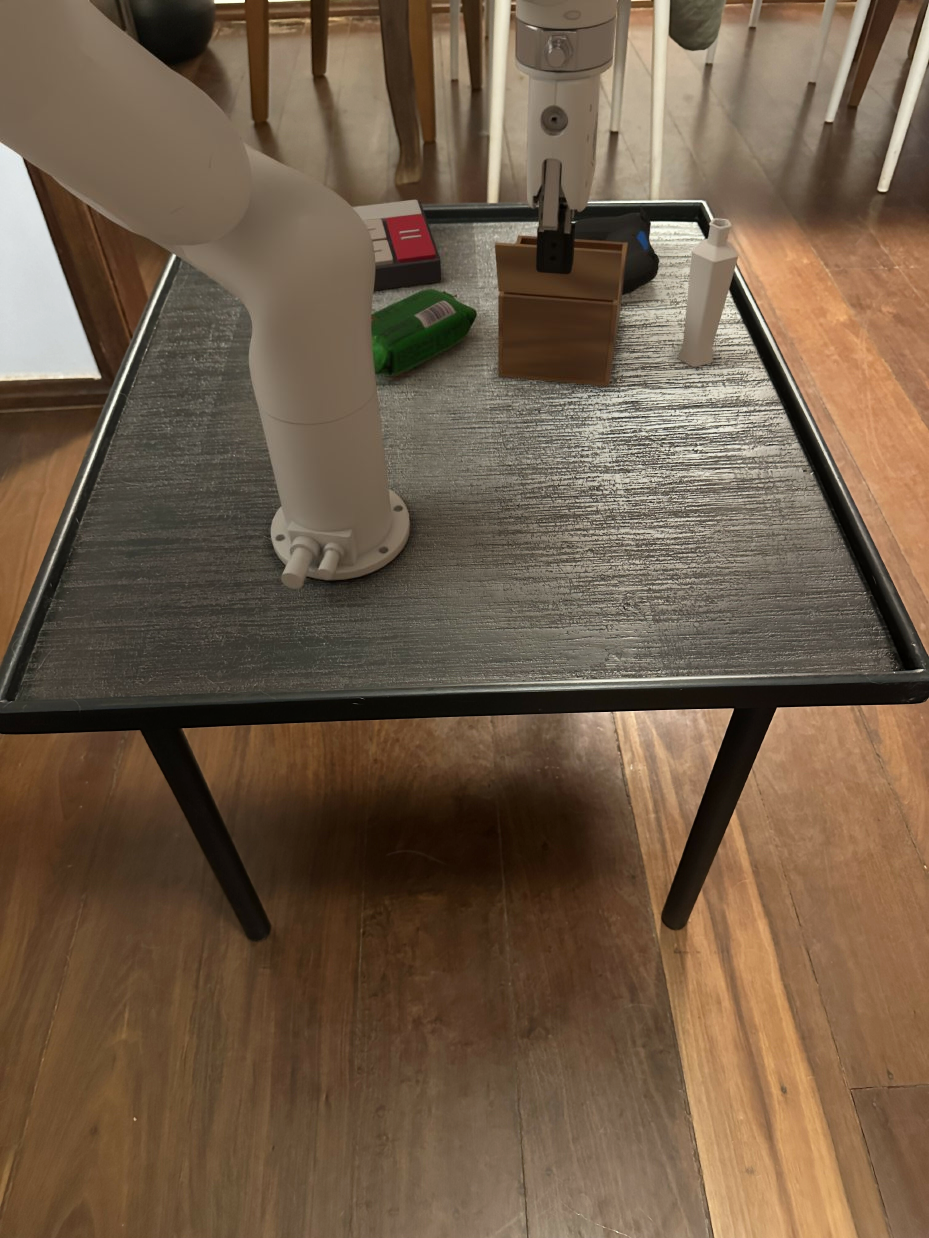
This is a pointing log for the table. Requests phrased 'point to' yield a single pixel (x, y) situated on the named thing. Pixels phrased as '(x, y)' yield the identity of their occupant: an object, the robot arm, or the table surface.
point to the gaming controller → (629, 230)
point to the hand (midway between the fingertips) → (554, 268)
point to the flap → (588, 277)
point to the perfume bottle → (707, 292)
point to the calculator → (401, 244)
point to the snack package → (417, 330)
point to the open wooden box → (559, 331)
